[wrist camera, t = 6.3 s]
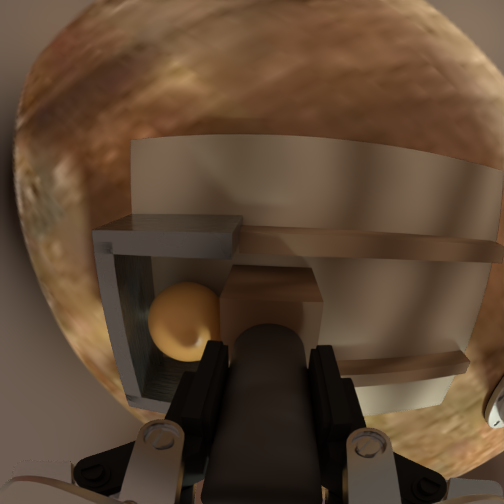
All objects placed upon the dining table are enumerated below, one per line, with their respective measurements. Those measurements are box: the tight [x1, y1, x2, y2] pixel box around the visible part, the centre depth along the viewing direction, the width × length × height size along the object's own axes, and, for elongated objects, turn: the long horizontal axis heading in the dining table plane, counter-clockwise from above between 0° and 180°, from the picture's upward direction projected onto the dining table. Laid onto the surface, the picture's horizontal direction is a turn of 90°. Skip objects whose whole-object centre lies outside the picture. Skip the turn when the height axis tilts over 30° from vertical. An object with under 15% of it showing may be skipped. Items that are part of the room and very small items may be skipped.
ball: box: [148, 282, 221, 362], centre depth 14 cm, size 4×4×4 cm
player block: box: [201, 265, 324, 504], centre depth 10 cm, size 4×5×11 cm
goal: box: [92, 214, 243, 414], centre depth 14 cm, size 6×10×4 cm, turn 179°
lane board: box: [131, 134, 504, 416], centre depth 16 cm, size 22×18×3 cm
